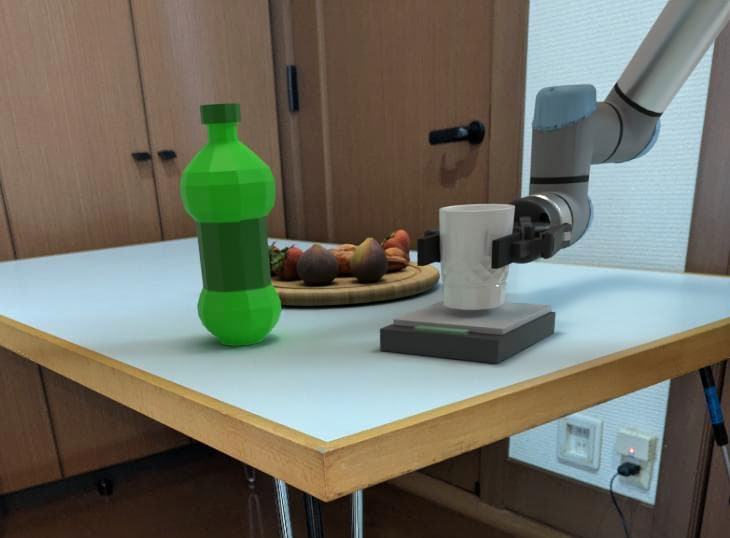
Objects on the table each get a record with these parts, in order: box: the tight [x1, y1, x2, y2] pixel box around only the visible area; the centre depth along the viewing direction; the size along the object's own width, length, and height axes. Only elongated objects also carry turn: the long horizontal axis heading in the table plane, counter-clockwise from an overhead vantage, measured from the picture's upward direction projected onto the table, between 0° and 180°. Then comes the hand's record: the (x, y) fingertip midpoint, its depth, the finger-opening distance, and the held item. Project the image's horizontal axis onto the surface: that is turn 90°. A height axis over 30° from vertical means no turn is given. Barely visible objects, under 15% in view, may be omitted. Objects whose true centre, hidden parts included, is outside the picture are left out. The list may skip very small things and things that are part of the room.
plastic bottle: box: [179, 102, 282, 347], centre depth 91 cm, size 10×10×25 cm
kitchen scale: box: [379, 300, 557, 365], centre depth 89 cm, size 14×15×3 cm
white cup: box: [438, 203, 515, 310], centre depth 86 cm, size 8×8×10 cm
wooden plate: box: [268, 229, 441, 307], centre depth 124 cm, size 32×32×8 cm
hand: (457, 253), depth 82 cm, fingers closed on white cup, 8 cm apart
